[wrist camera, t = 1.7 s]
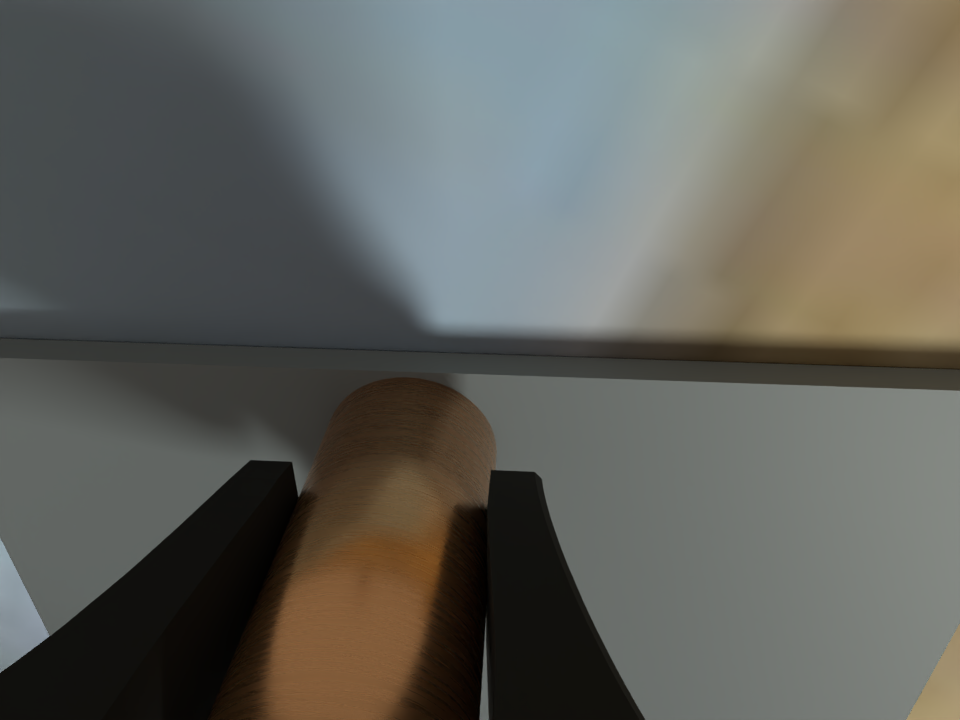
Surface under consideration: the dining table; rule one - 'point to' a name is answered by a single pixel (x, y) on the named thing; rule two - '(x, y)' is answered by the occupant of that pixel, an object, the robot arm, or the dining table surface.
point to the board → (556, 498)
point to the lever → (377, 570)
